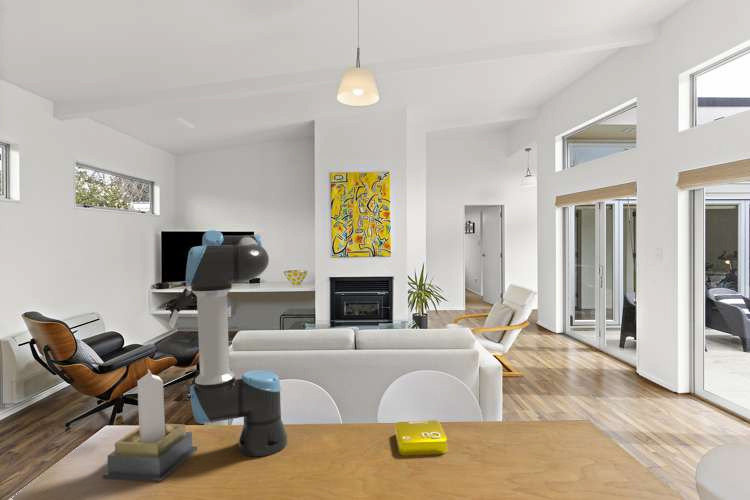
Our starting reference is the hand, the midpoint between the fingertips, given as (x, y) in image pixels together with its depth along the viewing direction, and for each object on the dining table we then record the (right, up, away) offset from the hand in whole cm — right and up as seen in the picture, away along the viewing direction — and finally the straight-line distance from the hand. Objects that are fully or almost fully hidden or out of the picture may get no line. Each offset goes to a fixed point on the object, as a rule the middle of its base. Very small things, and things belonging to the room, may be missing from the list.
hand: (189, 326), depth 153 cm
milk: (0, -31, -25) cm, 39 cm away
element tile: (+81, -35, -16) cm, 90 cm away
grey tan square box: (0, -36, -25) cm, 44 cm away
